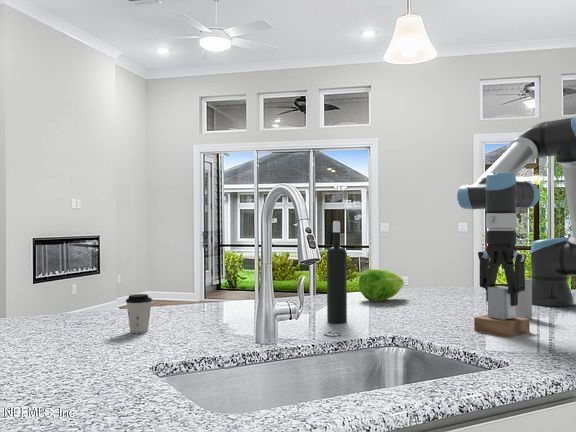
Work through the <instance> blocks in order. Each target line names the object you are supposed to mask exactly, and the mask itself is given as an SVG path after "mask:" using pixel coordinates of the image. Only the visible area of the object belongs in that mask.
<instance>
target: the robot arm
mask: <svg viewBox="0 0 576 432" xmlns="http://www.w3.org/2000/svg"><path fill="white" fill-rule="evenodd" d="M546 157H555V162H556V163H557V164H559V165H560V166H561V167H562V172H563V179H564V186H565V194H566V201H567V207H568V214H569V221H570V228H571V236H570V237H569V238H567V237H560V238H557V237H556V238H544V239H540V240H539V239H537V240H534V241H532V243H531V247H530V269H531V270H530V271H531V275H530V276H531V277H530V279H531V281H532V305H535V306H542V307H543V306H545V307H546V306H547V307H571V306H574V305H575V304H574V303H575V302H574V296H573V294H572V290H571V288H570V285H569V281H568V279H569V277H568V276H571V277H572V276H573V277H574V276H575V277H576V116H573V117H567V118H562V119H554V120H548V121H543V122H539V123H536V124H534V125H531V126H530V127H528V128H526V129H525V130H524V131H522V132H521V133H519V134H518V135H517V136H516V137H514V139H513V140H512V141H511V142H510V143H509V145H508V149H507V150H506V151H505V152H504V153H502V155H501V156H500V157H498V159H497V160H496V161H495V162H494V163H493V164H492V165H491V166H489V168H488V169H486V170H485V171H484V173H483V174H481V176H479V178H478V179H477V180H475V182H474V183H472V184H470V183H467V184H464V185H461V186H460V187H459V188H458V190H457V191H456V192H457V193H456V199H457V203H458V206H459V207H460V208H461V209H464V210H473V211H474V210H485V214H486V215H485V220H486V221H485V223H486V224H485V225H486V226H485V228H486V229H488V230H486V232H485V233H486V234H485V239H486V240H485V242H486V244H487V247H486V250H483V251H478V252H477V255H478V259H479V287H480V288H483V289H485V294H486V296H485V299H486V302H487V303H488V287H494V286H496V282H497V278H498V274H499V269H500V267H501V268H502V269H503V272H504V276H505V280H506V283H507V287H508V289H509V292H508V293H506V300H507V318H515V317H516V306H517V305H518V293H519V292H522V291H525V278H526V274H525V273H526V270H525V269H526V268H525V265H526V264H525V262H526V259H527V254H526V253H520V252H518V251H517V248H516V244H517V231H516V230H515V229H517V209H522V210H523V209H524V210H525V209H529V208H532V207H534V206H535V205H537V203H538V202H539V200H540V196H541V194H540V190H539V188H538V186H537V185H535V184H534V183H533V182H528V181H526V180H525V181H517V178H516V176H517V174H519V173H520V171H522V170H523V168H525V166H526V165H527V164H531V163H533V162H535V161H536V159H539V158H546Z"/></svg>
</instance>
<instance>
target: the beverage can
mask: <svg viewBox="0 0 576 432" xmlns="http://www.w3.org/2000/svg"><path fill="white" fill-rule="evenodd" d="M516 317H522V318H528V319H531V318H532V317H533V304H532V281H531V278H529V277H525V291H522V292H519V293H518V305H517V306H516Z"/></svg>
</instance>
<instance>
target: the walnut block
mask: <svg viewBox="0 0 576 432" xmlns="http://www.w3.org/2000/svg"><path fill="white" fill-rule="evenodd" d="M530 319H531V318H530ZM530 319H528V318H522V317H516V318H512V319H505V320H503V319H497V318H492V317H488V314H486V315H480V316H475V317H474V319H473V321H474V328H473V329H474V330H473V331H475V332H478V333H483V334H484V333H485V334H489V335H493V336H500V337H504V338H513V337H516V336H520V335H524V334H529V333H531V327H530V326H531V325H530V321H531V320H530Z"/></svg>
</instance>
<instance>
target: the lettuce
mask: <svg viewBox="0 0 576 432" xmlns="http://www.w3.org/2000/svg"><path fill="white" fill-rule="evenodd" d="M404 286H405V282H404V279H403V278H401V276H399V275H398V274H396V273H395V272H393V271H391V270H387V269H371V268H369V269H366V270H364V271H363V272H362V273H361V275H360V277H359V279H358V288H359V289H358V290H359V291H360V293H361V294H362V296H363V297H364V298H365V299H366V300H368V301H371V302H376V303H378V302H383V301H385V300H387V299H388V300H389V299H391V298H393V297H394V296H396V295H397V294H398V292H400V290H402V288H403V287H404Z"/></svg>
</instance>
